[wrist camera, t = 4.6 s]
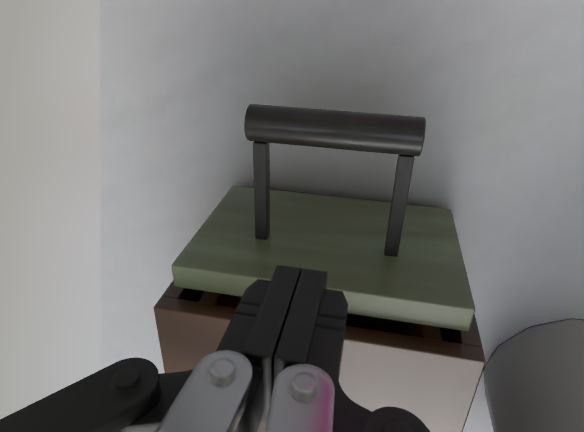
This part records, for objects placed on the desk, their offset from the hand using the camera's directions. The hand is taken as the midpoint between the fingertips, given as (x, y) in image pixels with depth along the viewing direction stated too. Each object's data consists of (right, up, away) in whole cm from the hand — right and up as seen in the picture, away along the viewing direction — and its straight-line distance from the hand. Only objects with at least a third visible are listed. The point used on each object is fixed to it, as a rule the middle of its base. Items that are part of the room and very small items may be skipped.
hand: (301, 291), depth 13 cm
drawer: (+2, -1, +14) cm, 14 cm away
